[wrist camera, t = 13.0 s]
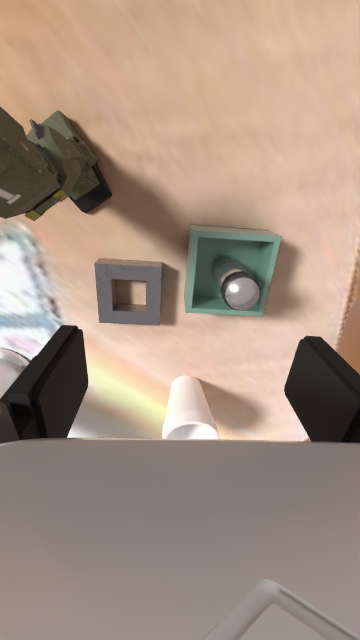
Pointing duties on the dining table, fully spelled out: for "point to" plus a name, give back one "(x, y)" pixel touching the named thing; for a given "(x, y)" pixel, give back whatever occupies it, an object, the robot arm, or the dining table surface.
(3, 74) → the dining table surface
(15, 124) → the mechanical leg
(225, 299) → the metal peg
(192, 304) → the bin
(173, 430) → the foam cup
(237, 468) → the robot arm
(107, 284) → the socket block
